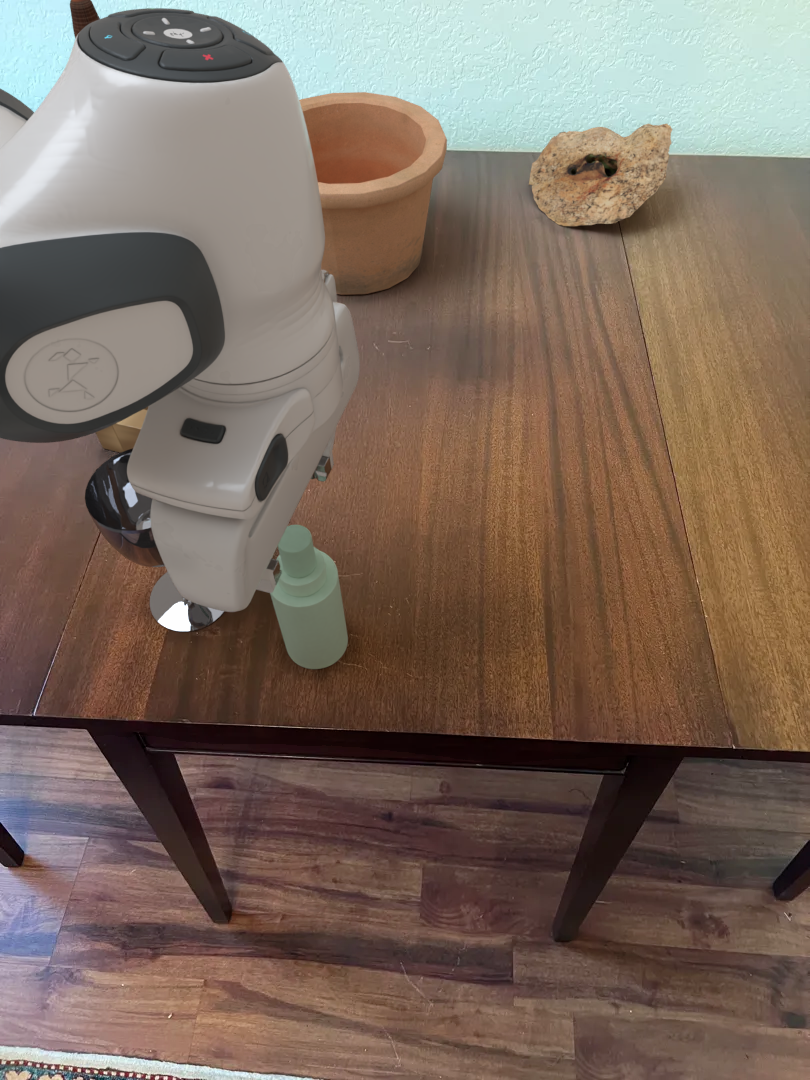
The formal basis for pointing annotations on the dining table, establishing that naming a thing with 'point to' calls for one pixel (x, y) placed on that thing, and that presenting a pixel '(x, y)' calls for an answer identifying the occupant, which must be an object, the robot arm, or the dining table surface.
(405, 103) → the pottery
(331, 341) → the robot arm
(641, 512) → the dining table surface
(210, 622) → the wine glass
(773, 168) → the dining table surface
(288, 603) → the bottle
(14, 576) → the dining table surface
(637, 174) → the rough tan rock
